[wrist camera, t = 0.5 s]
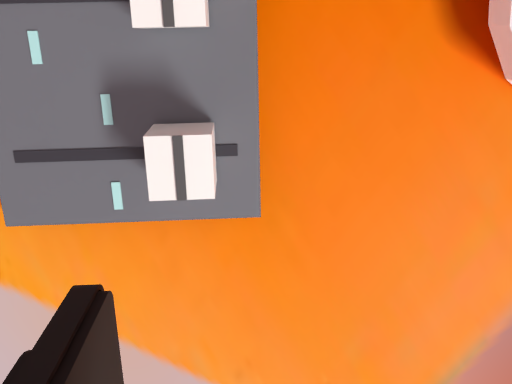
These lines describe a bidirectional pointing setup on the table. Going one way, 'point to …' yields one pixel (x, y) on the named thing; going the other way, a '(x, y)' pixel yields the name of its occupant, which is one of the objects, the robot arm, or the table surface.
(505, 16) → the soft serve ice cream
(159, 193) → the fader
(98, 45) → the console
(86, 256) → the table surface
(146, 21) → the fader
